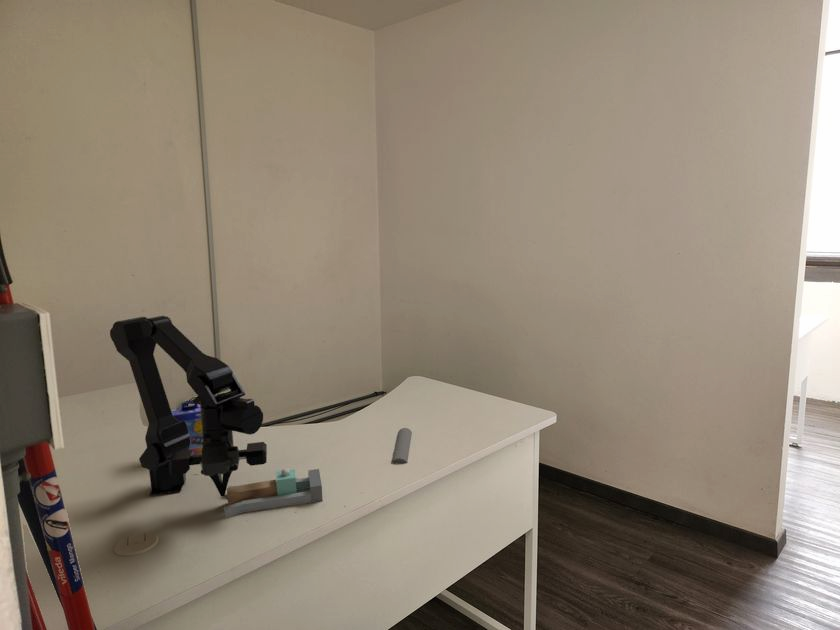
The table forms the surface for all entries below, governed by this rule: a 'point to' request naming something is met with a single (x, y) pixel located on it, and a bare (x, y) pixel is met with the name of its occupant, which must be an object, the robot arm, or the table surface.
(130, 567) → the table surface
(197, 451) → the ink cartridge box
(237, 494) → the batten
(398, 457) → the gray half cylinder
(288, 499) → the guide
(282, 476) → the block
